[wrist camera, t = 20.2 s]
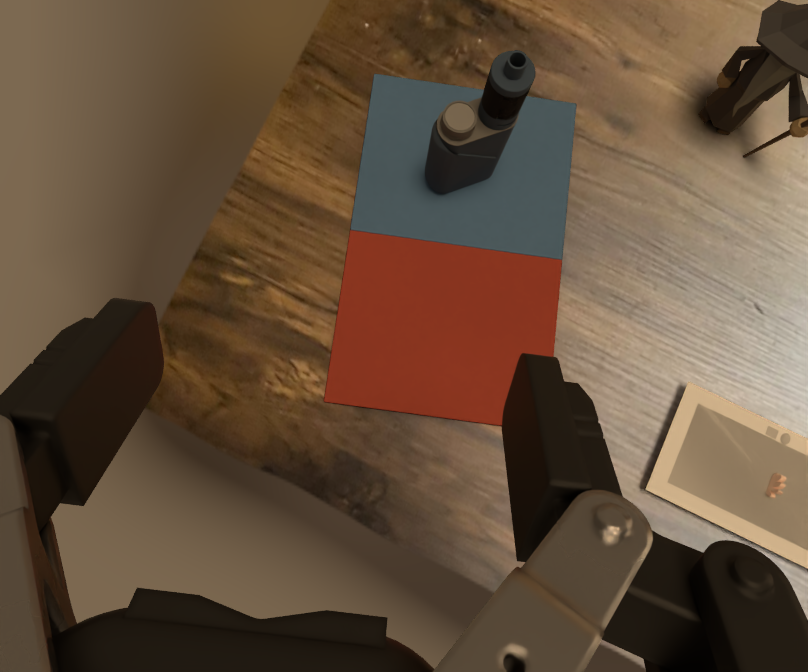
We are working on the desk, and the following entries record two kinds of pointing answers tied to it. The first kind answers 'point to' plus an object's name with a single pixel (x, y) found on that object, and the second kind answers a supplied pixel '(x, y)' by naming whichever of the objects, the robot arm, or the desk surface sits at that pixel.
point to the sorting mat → (449, 261)
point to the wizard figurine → (765, 73)
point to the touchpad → (736, 472)
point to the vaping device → (478, 126)
